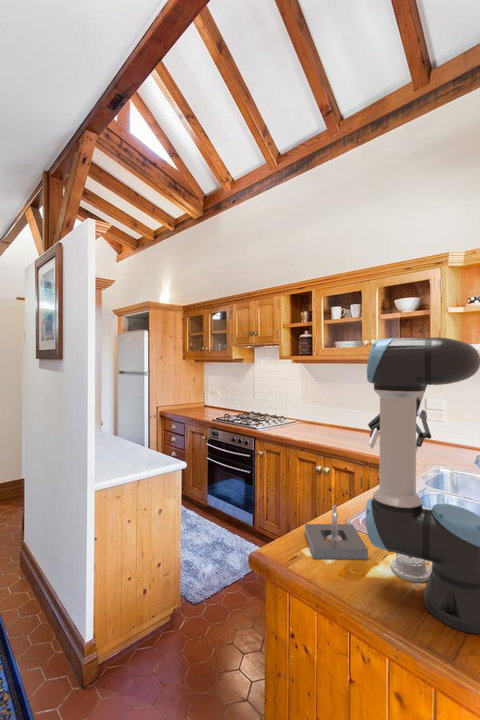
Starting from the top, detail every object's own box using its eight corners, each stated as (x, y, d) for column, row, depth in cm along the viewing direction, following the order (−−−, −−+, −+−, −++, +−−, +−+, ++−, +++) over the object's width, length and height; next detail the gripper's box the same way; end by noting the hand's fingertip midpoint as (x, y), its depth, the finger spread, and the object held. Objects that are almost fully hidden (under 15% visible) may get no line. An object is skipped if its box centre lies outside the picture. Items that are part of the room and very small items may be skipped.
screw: (344, 544, 117) (339, 550, 113) (329, 539, 120) (324, 546, 116) (344, 503, 117) (339, 508, 113) (329, 500, 120) (324, 505, 116)
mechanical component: (398, 558, 110) (385, 572, 102) (398, 543, 109) (385, 557, 102) (435, 572, 103) (423, 588, 95) (435, 556, 103) (423, 571, 95)
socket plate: (367, 559, 109) (367, 549, 109) (313, 558, 109) (313, 548, 109) (352, 533, 125) (352, 524, 125) (304, 532, 125) (304, 524, 125)
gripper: (451, 410, 122) (435, 464, 112) (378, 403, 140) (359, 449, 130) (445, 395, 118) (428, 450, 108) (372, 390, 136) (351, 436, 126)
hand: (390, 450), depth 119 cm, fingers open, 13 cm apart
